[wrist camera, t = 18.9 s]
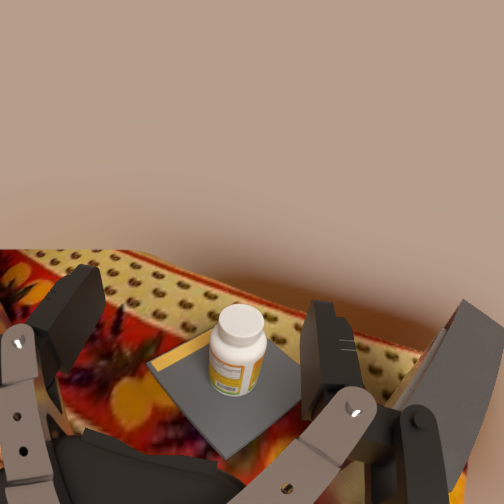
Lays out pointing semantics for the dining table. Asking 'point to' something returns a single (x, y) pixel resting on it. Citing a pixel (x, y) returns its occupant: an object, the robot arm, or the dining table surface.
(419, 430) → the robot arm
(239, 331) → the supplement bottle
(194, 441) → the dining table surface
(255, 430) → the mat
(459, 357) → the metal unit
